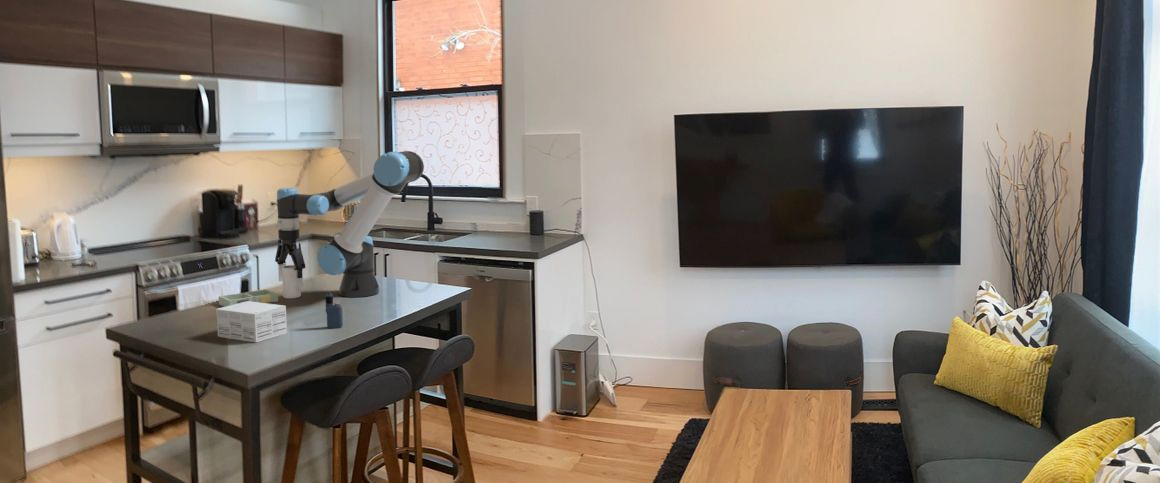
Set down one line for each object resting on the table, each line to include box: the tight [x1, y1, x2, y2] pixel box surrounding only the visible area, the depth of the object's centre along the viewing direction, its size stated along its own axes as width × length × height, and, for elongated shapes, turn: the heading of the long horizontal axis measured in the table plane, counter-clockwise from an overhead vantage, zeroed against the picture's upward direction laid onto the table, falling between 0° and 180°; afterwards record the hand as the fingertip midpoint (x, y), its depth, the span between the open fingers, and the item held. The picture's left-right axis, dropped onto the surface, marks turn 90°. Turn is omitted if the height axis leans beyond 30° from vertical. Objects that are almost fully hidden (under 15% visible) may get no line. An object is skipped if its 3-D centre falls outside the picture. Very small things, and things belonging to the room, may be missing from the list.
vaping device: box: [324, 291, 344, 329], centre depth 267 cm, size 3×5×12 cm, turn 95°
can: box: [281, 264, 302, 300], centre depth 312 cm, size 6×6×12 cm
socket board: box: [218, 288, 279, 307], centre depth 302 cm, size 10×18×3 cm, turn 135°
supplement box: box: [215, 301, 288, 343], centre depth 258 cm, size 17×13×9 cm
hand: (290, 283), depth 312 cm, fingers open, 13 cm apart
